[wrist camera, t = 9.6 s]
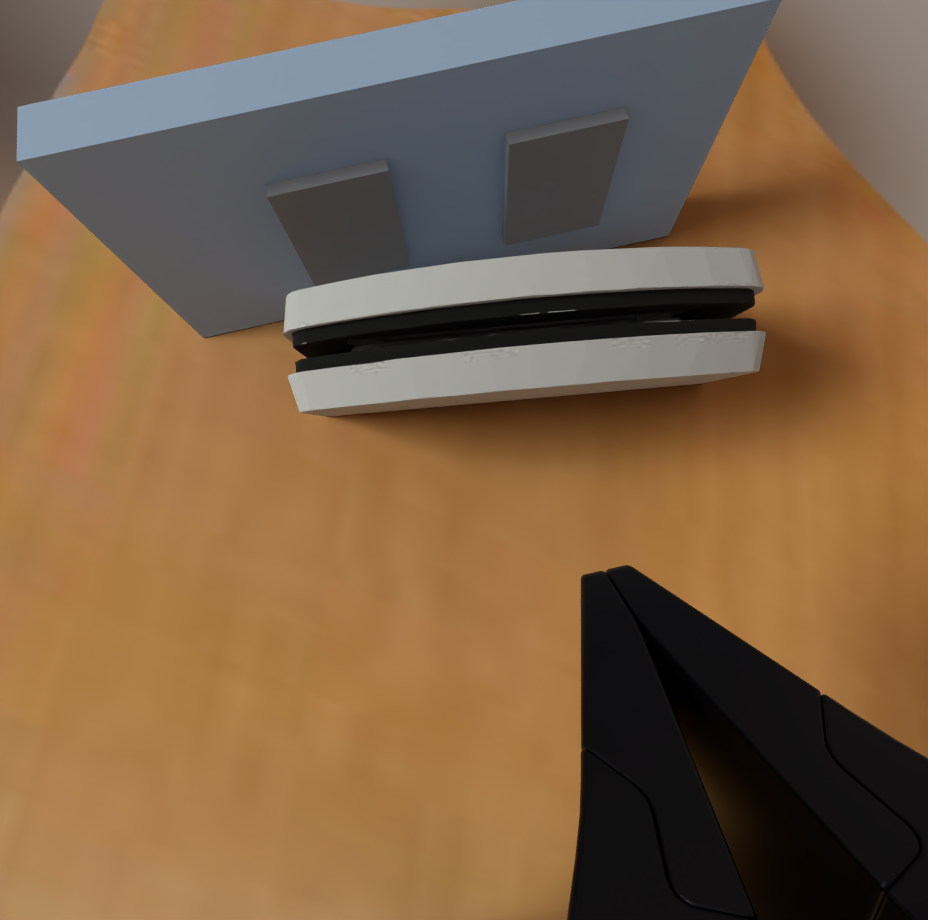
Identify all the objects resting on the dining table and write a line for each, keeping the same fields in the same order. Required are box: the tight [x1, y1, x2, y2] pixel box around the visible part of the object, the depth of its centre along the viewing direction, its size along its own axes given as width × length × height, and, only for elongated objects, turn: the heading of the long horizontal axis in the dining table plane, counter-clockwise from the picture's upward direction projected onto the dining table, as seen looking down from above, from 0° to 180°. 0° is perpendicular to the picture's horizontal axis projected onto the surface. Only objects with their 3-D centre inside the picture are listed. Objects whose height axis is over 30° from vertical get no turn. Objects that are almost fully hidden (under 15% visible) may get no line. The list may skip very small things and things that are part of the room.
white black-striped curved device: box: [284, 247, 766, 417], centre depth 19 cm, size 17×5×10 cm, turn 94°
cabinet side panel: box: [17, 0, 781, 338], centre depth 20 cm, size 2×22×10 cm, turn 102°
